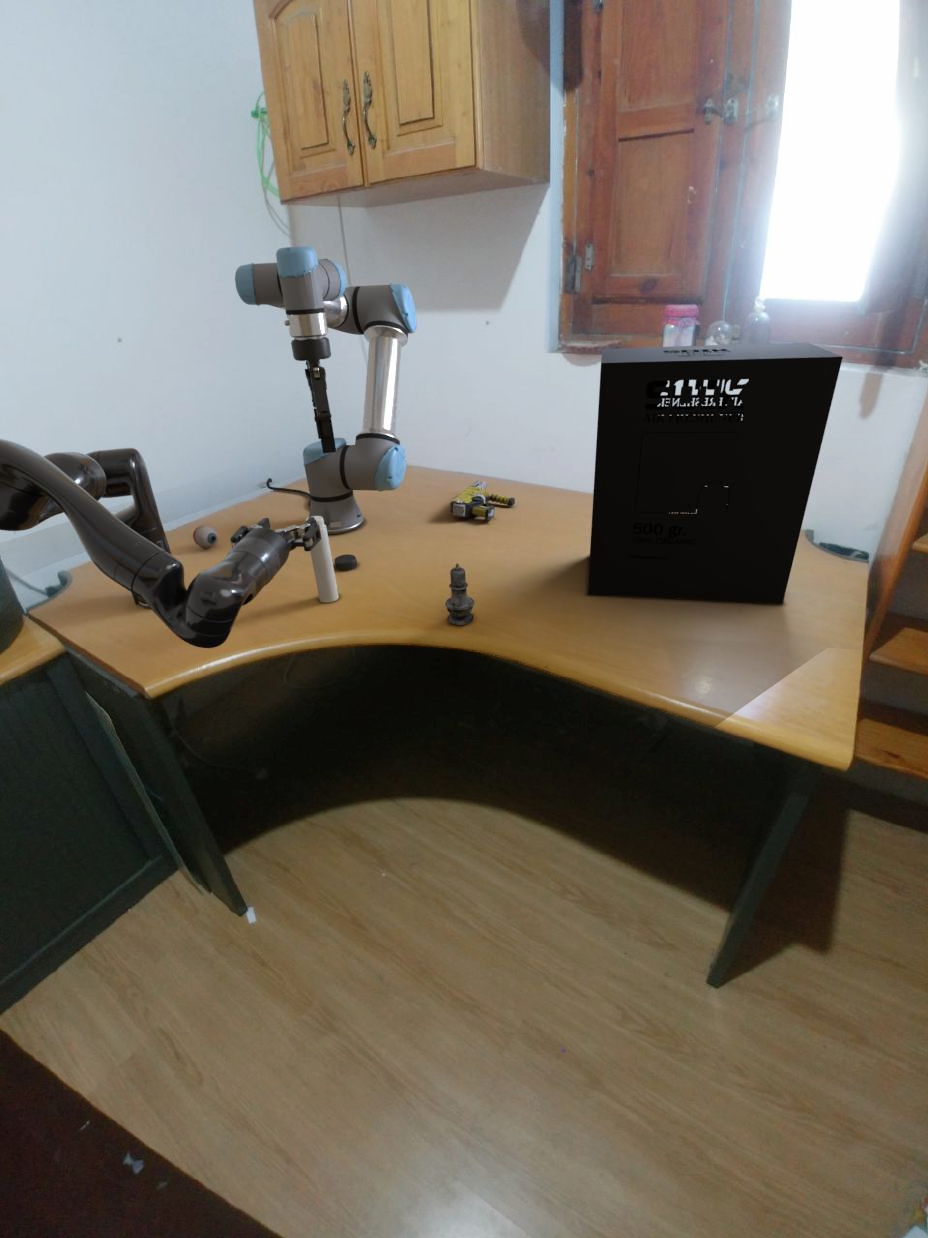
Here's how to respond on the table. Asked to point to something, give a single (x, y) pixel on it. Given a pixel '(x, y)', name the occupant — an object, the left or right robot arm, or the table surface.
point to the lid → (345, 562)
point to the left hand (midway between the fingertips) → (290, 522)
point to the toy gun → (477, 502)
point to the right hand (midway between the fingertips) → (327, 444)
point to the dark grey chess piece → (459, 599)
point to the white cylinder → (324, 566)
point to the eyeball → (205, 536)
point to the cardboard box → (705, 469)
